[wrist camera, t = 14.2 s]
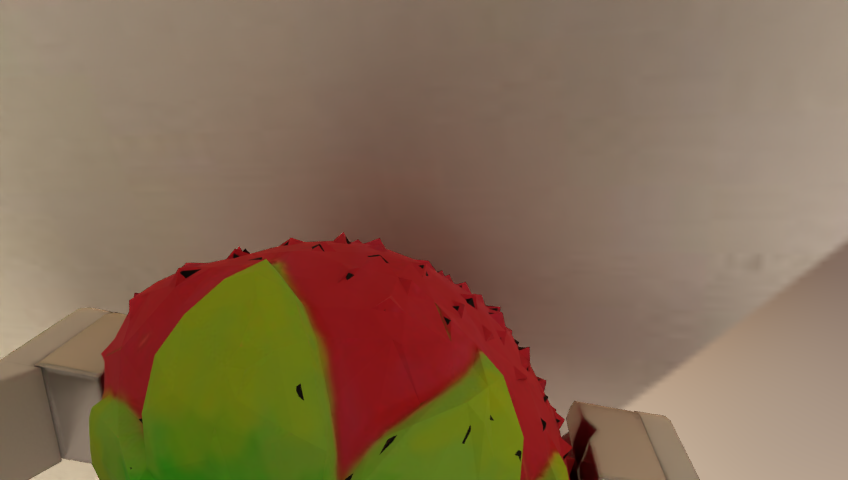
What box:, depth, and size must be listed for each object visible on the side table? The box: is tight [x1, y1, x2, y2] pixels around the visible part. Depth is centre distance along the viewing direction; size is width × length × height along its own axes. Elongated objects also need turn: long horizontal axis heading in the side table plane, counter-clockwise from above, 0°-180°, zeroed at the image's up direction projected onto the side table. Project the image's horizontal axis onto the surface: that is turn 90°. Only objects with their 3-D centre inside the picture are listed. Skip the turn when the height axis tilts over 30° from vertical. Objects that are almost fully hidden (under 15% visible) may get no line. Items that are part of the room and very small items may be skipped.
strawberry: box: [89, 232, 575, 480], centre depth 7 cm, size 6×7×10 cm
